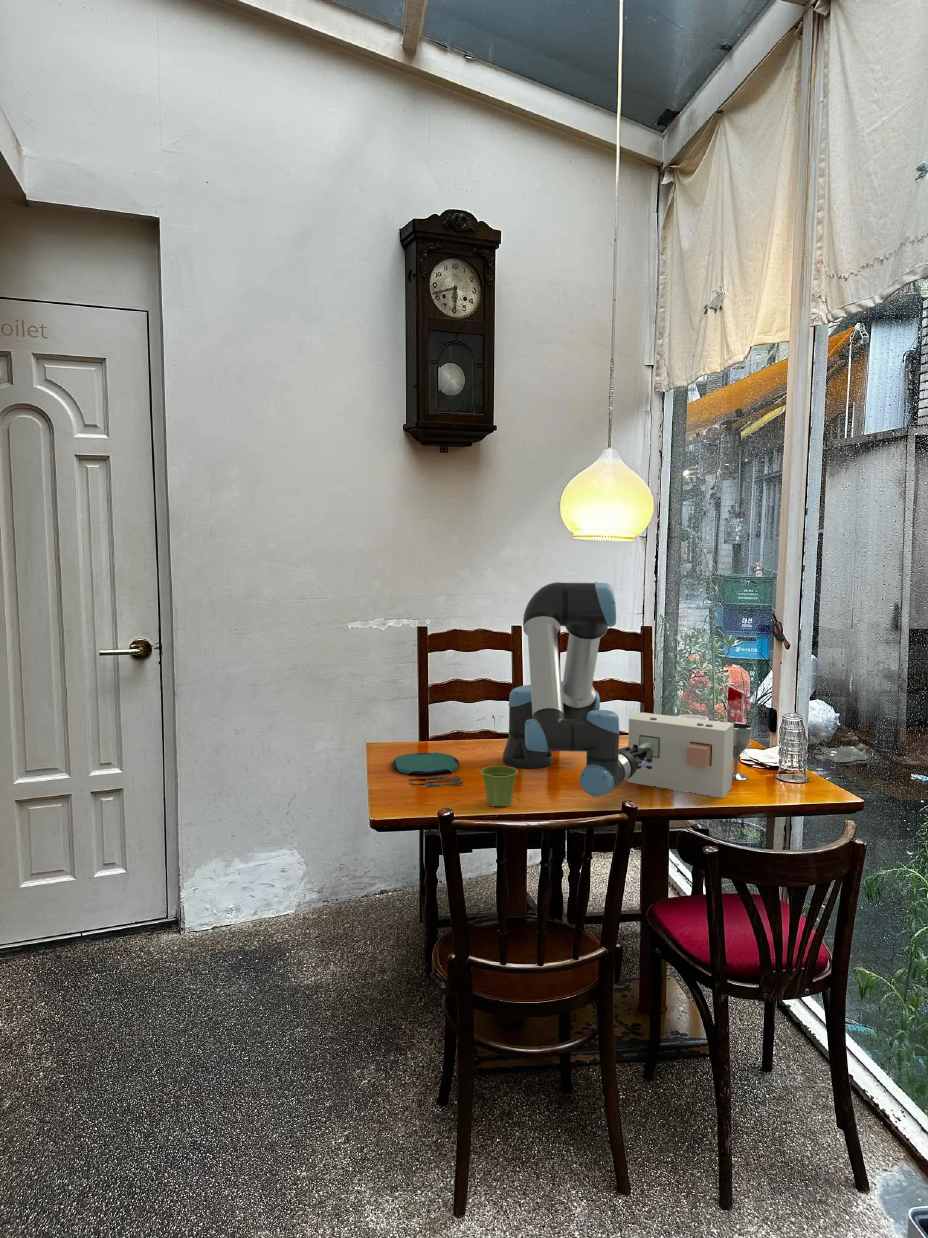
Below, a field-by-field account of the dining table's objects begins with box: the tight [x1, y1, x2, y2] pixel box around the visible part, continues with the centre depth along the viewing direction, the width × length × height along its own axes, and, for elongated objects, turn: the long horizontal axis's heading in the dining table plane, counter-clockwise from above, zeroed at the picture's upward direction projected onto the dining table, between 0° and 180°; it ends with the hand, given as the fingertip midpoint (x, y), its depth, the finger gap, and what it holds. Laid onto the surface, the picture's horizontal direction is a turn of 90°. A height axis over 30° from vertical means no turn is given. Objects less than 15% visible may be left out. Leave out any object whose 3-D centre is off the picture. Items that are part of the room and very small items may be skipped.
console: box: [626, 711, 734, 799], centre depth 214 cm, size 10×26×18 cm, turn 58°
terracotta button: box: [687, 742, 712, 768], centre depth 205 cm, size 6×5×5 cm
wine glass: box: [727, 721, 753, 782], centre depth 223 cm, size 8×8×15 cm
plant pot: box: [480, 765, 519, 807], centre depth 199 cm, size 9×9×9 cm
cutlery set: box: [391, 752, 464, 788], centre depth 227 cm, size 20×30×2 cm, turn 10°
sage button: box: [640, 735, 660, 757], centre depth 216 cm, size 6×5×5 cm
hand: (648, 747), depth 213 cm, fingers closed
